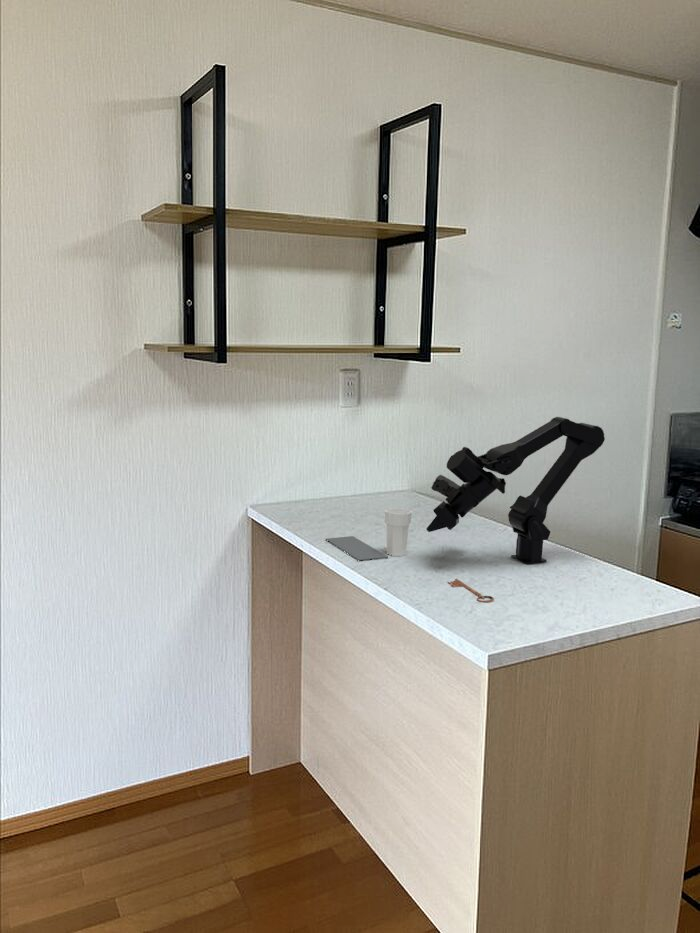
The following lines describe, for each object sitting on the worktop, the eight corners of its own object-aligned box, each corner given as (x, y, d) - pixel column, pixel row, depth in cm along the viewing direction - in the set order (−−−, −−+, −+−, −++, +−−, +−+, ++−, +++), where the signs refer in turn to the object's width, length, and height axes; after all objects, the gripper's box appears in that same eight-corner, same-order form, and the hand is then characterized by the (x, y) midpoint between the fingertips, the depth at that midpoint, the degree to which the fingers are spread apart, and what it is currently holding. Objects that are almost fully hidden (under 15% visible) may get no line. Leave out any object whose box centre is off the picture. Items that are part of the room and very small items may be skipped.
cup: (413, 552, 211) (415, 510, 209) (403, 558, 205) (405, 515, 203) (389, 548, 213) (391, 506, 211) (379, 554, 207) (380, 511, 205)
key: (441, 584, 188) (472, 606, 174) (440, 581, 188) (472, 602, 174) (463, 580, 190) (496, 602, 176) (463, 577, 190) (496, 598, 176)
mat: (387, 558, 205) (388, 556, 205) (358, 561, 201) (358, 559, 201) (352, 537, 222) (352, 536, 222) (325, 540, 219) (325, 538, 219)
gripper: (460, 460, 209) (416, 498, 215) (444, 472, 192) (396, 513, 197) (489, 493, 208) (444, 531, 213) (476, 509, 191) (426, 549, 196)
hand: (427, 530), depth 205 cm, fingers closed
